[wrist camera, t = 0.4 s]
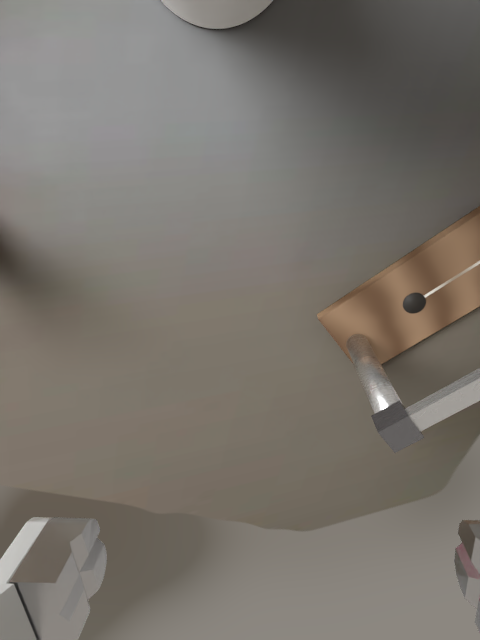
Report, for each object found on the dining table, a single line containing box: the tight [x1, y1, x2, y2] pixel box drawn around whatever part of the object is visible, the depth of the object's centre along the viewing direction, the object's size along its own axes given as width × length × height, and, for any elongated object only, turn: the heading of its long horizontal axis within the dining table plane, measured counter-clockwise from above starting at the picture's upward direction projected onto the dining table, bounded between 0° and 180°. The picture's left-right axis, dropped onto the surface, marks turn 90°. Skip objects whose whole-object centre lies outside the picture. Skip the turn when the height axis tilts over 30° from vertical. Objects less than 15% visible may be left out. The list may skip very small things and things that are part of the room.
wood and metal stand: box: [317, 206, 480, 364], centre depth 39 cm, size 24×10×20 cm, turn 128°
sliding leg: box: [346, 334, 480, 453], centre depth 39 cm, size 21×3×17 cm, turn 128°
